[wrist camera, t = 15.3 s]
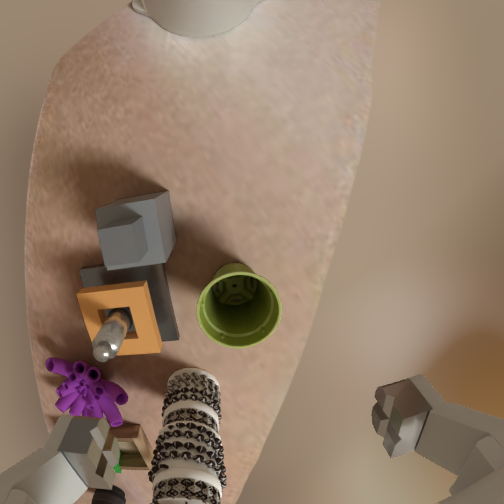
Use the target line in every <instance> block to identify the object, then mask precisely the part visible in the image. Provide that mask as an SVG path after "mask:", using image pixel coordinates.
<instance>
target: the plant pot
mask: <svg viewBox="0 0 504 504" xmlns="http://www.w3.org/2000/svg"><path fill="white" fill-rule="evenodd" d="M250 278H253V280H254V285H253V287H251V280H250ZM216 282H218V288H219V292H218V291H217V289H216ZM233 284H236V285H237V286H236V287H233ZM237 299H242V300H241V301H238V302H232V300H237ZM196 314H197V320H198V323H199V325H200V327H201V329H202V331H203V332H204V333H205V334H206V336H207V337H208V338H210V339H211V340H212V341H214V342H215V343H217V344H219V345H222V346H225V347H229V348H248V347H252V346H254V345H257V344H259V343H261V342H263V341H264V340H266V339H267V338H268V337H269V336H270V335H271V334H272V333H273V332H274V331H275V329H276V328H277V326H278V324H279V322H280V319H281V314H282V306H281V300H280V297H279V295H278V293H277V291H276V289H275V288H274V287H273V285H272V284H271V283H270V282H269V281H267V280H266V279H265V278H263V277H262V276H260V275H257V274H255V273H254V272H253V270H252V269H250V268H249V267H248V266H246V265H244V264H240V263H230V264H227V265H224V266H222V267H221V268H220V269H219V270H218V271H217V272H216V273H215V275H214V277H213V279H212V281H211V282H210V283H209V284H208V285H207V286H206V287H205V288H204V289H203V291H202V293H201V294H200V296H199V299H198V302H197V309H196Z"/></svg>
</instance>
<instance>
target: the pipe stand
mask: <svg viewBox="0 0 504 504" xmlns="http://www.w3.org/2000/svg"><path fill="white" fill-rule="evenodd" d="M79 272H80V276H81V280H82V283H83V287H84V288H87V287H95V286H103V285H112V284H120V283H128V282H136V281H144V280H147V284H148V288H149V293H150V297H151V301H152V305H153V309H154V313H155V317H156V321H157V325H158V329H159V333H160V336H161V340H162V342H163V341H173V340H179V332H178V327H177V323H176V319H175V315H174V310H173V306H172V301H171V297H170V292H169V287H168V282H167V278H166V273H165V268H164V263H160V264H153V265H145V266H138V267H130V268H123V269H115V270H108V271H107V267H105V264H101V265H94V266H87V267H82V268H81V269H79ZM104 311H105V315H106V318H107V319H106V321H105V322H104V324H103V325H102V327H101V328H100V330H99V332H98V333H97V335H96V336H95V338H94V340H93V342H92V347H93V350H94V351H93V356H94V358H95V359H96V360H98V361H99V362H106V361H107V360H108V359H112V358H114V357H115V356H116V355H117V353H118V351H119V349H120V346H121V344H122V342H123V340H124V338H125V336H126V334H127V332H132V331H136V328H135V325H134V321H133V318H132V314H131V311H130V307H120V308H110V309H104Z"/></svg>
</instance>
